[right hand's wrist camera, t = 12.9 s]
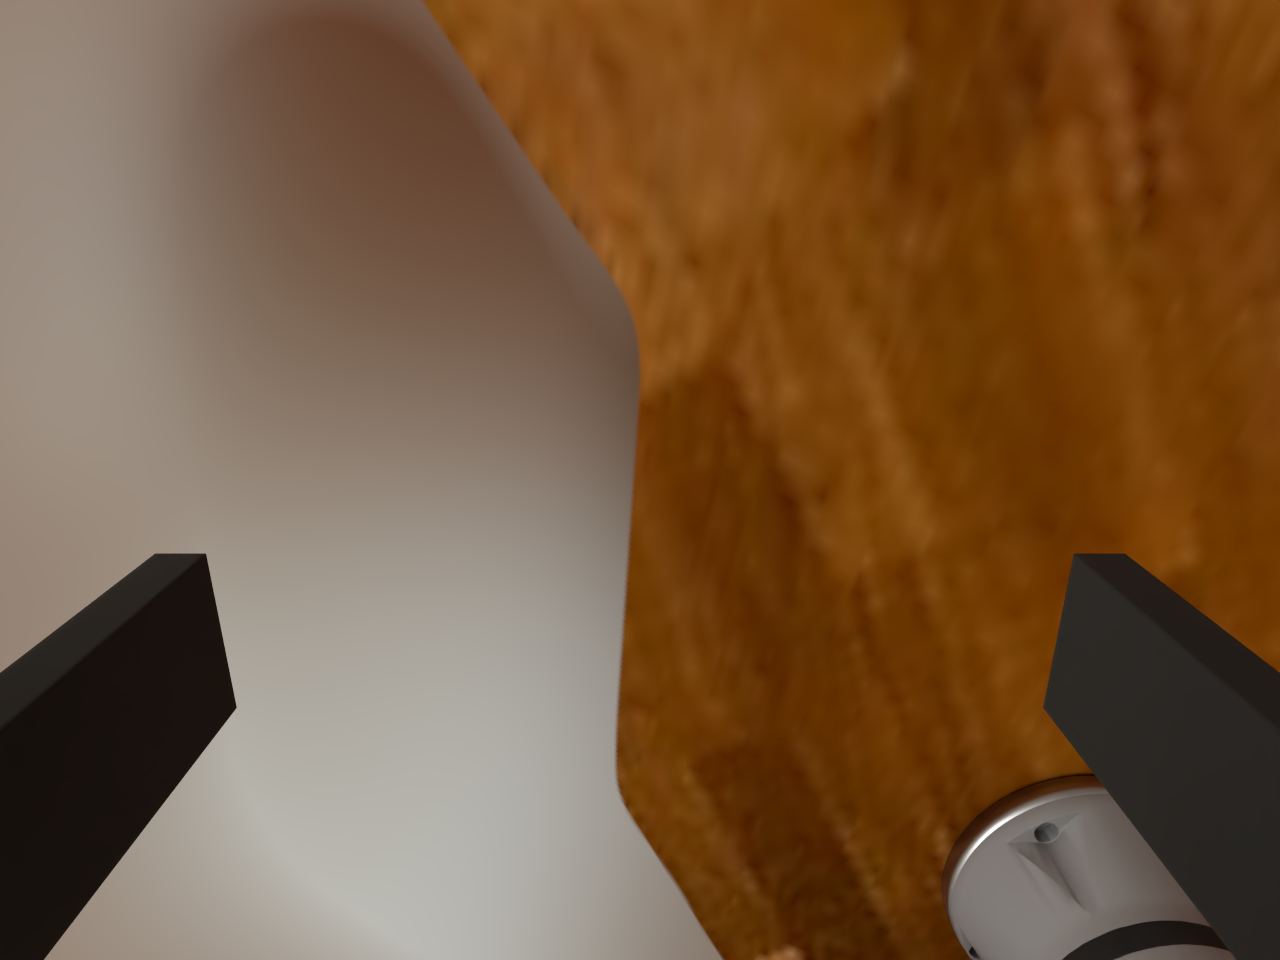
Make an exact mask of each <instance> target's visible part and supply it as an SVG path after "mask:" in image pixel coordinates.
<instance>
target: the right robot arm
mask: <svg viewBox="0 0 1280 960" xmlns="http://www.w3.org/2000/svg"><path fill="white" fill-rule="evenodd" d="M1043 708H1044V709H1045V710H1046V712H1047V713H1048V714H1049V716H1050V717H1051V718H1052V720H1053V721H1054V722H1055V723H1056V725H1057V726H1058V727H1059V729H1060V730H1061V731H1062V733H1063V734H1064V735H1065V737H1066V738H1067V739H1068V740H1069V742H1070V743H1071V744H1072V746H1073V747H1074V748H1075V750H1076V751H1077V752H1078V754H1079V755H1080V756H1081V757H1082V759H1083V760H1084V761H1085V763H1086V764H1087V765H1088V767H1089V768H1090V769H1091V771H1092V772H1093V773H1094V774H1095V776H1071V777H1064V778H1058V779H1053V780H1049V781H1045V782H1041V783H1038V784H1035V785H1032V786H1029V787H1026V788H1024V789H1021V790H1019V791H1017V792H1015V793H1013V794H1011V795H1009V796H1007V797H1005V798H1003V799H1002V800H1000V801H998V802H997V803H995V804H994V805H992V806H991V807H989V808H988V809H987V810H985V811H984V812H983V813H982V814H981V815H979V816H978V817H977V818H976V819H975V820H974V821H973V822H972V823H971V824H970V825H969V826H968V827H967V828H966V829H965V831H964V832H963V833H962V834H961V836H960V837H959V839H958V840H957V841H956V843H955V845H954V846H953V848H952V850H951V852H950V854H949V856H948V859H947V861H946V865H945V868H944V872H943V877H942V898H943V903H944V907H945V910H946V912H947V915H948V918H949V920H950V922H951V925H952V927H953V929H954V932H955V934H956V936H957V938H958V940H959V942H960V944H961V945H962V946H963V948H964V949H965V951H966V952H967V954H968V955H969V957H970V958H971V959H972V960H1280V673H1279V672H1278V671H1277V670H1275V669H1274V668H1273V667H1271V666H1270V665H1269V664H1267V663H1266V662H1265V661H1264V660H1262V659H1261V658H1260V657H1258V656H1257V655H1256V654H1254V653H1253V652H1252V651H1251V650H1249V649H1248V648H1247V647H1245V646H1244V645H1243V644H1241V643H1240V642H1239V641H1238V640H1236V639H1235V638H1234V637H1232V636H1231V635H1230V634H1228V633H1227V632H1226V631H1225V630H1223V629H1222V628H1221V627H1219V626H1218V625H1217V624H1215V623H1214V622H1213V621H1212V620H1210V619H1209V618H1208V617H1206V616H1205V615H1204V614H1202V613H1201V612H1200V611H1199V610H1197V609H1196V608H1195V607H1193V606H1192V605H1191V604H1189V603H1188V602H1187V601H1186V600H1184V599H1183V598H1182V597H1180V596H1179V595H1178V594H1177V593H1175V592H1174V591H1173V590H1171V589H1170V588H1169V587H1167V586H1166V585H1165V584H1164V583H1162V582H1161V581H1160V580H1158V579H1157V578H1156V577H1154V576H1153V575H1152V574H1151V573H1149V572H1148V571H1147V570H1145V569H1144V568H1143V567H1141V566H1140V565H1139V564H1138V563H1136V562H1135V561H1134V560H1132V559H1131V558H1130V557H1128V556H1127V555H1126V554H1074V557H1073V562H1072V567H1071V572H1070V577H1069V582H1068V587H1067V592H1066V597H1065V602H1064V607H1063V612H1062V617H1061V622H1060V627H1059V632H1058V637H1057V642H1056V647H1055V652H1054V657H1053V662H1052V667H1051V672H1050V677H1049V682H1048V687H1047V692H1046V697H1045V702H1044V707H1043ZM235 709H236V702H235V697H234V692H233V687H232V682H231V677H230V672H229V667H228V662H227V657H226V652H225V647H224V642H223V637H222V632H221V627H220V622H219V617H218V612H217V607H216V602H215V597H214V592H213V587H212V582H211V577H210V572H209V567H208V562H207V557H206V554H154V555H153V556H152V557H150V558H149V559H148V560H146V561H145V562H144V563H142V564H141V565H140V566H139V567H137V568H136V569H135V570H133V571H132V572H131V573H130V574H128V575H127V576H126V577H124V578H123V579H122V580H120V581H119V582H118V583H116V584H115V585H114V586H113V587H111V588H110V589H109V590H107V591H106V592H105V593H103V594H102V595H101V596H100V597H98V598H97V599H96V600H94V601H93V602H92V603H91V604H89V605H88V606H87V607H85V608H84V609H83V610H81V611H80V612H79V613H78V614H76V615H75V616H74V617H72V618H71V619H70V620H68V621H67V622H66V623H65V624H63V625H62V626H61V627H59V628H58V629H57V630H55V631H54V632H53V633H52V634H50V635H49V636H48V637H46V638H45V639H44V640H42V641H41V642H40V643H39V644H37V645H36V646H35V647H33V648H32V649H31V650H29V651H28V652H27V653H26V654H24V655H23V656H22V657H20V658H19V659H18V660H17V661H15V662H14V663H13V664H11V665H10V666H9V667H7V668H6V669H5V670H3V671H2V672H1V673H0V960H44V959H45V957H46V956H47V955H48V953H49V952H50V951H51V950H52V948H53V947H54V946H55V944H56V943H57V942H58V940H59V939H60V938H61V936H62V935H63V934H64V933H65V931H66V930H67V929H68V927H69V926H70V925H71V923H72V922H73V921H74V920H75V918H76V917H77V916H78V914H79V913H80V912H81V910H82V909H83V908H84V906H85V905H86V904H87V903H88V901H89V900H90V899H91V897H92V896H93V895H94V893H95V892H96V891H97V889H98V888H99V887H100V886H101V884H102V883H103V882H104V880H105V879H106V878H107V876H108V875H109V874H110V872H111V871H112V870H113V868H114V867H115V866H116V865H117V863H118V862H119V861H120V859H121V858H122V857H123V855H124V854H125V853H126V852H127V850H128V849H129V848H130V846H131V845H132V844H133V842H134V841H135V840H136V838H137V837H138V836H139V835H140V833H141V832H142V831H143V829H144V828H145V827H146V825H147V824H148V823H149V821H150V820H151V819H152V818H153V816H154V815H155V814H156V812H157V811H158V810H159V808H160V807H161V806H162V804H163V803H164V802H165V801H166V799H167V798H168V797H169V795H170V794H171V793H172V791H173V790H174V789H175V787H176V786H177V785H178V784H179V782H180V781H181V780H182V778H183V777H184V776H185V774H186V773H187V772H188V771H189V769H190V768H191V767H192V765H193V764H194V763H195V761H196V760H197V759H198V757H199V756H200V755H201V754H202V752H203V751H204V750H205V748H206V747H207V746H208V744H209V743H210V742H211V740H212V739H213V738H214V737H215V735H216V734H217V733H218V731H219V730H220V729H221V727H222V726H223V725H224V723H225V722H226V721H227V720H228V718H229V717H230V716H231V714H232V713H233V712H234V710H235Z"/></svg>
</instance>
